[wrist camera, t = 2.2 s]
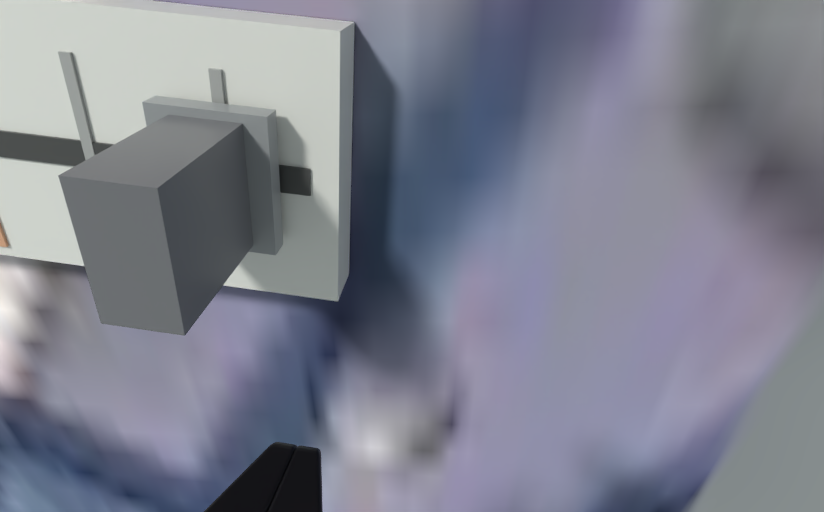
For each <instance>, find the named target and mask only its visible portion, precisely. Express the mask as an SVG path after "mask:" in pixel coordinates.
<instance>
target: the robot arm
mask: <svg viewBox="0 0 824 512" xmlns="http://www.w3.org/2000/svg"><path fill="white" fill-rule="evenodd" d="M204 512H322V476H321V451H320V449H318V448H313V447H306V446H298V447H297V446H296V445H294V444H287V443H281V442H275V443H273V444H271V445H270V446H269V447H268V448H267V449H266V450H265V451H264V452H263V453H262V454H261V455H260V456H259V457H258V458H257V459H256V460H255V461H254V462H253V463H252V464H251V465H250V466H249V467H248V468H247V469H246V470H245V471H244V472H243V473H242V474H241V475H240V476H239V477H238V478H237V479H236V480H235V481H234V482H233V483H232V484H231V485H230V486H229V487H228V488H227V489H226V490H225V491H224V492H223V493H222V494H221V495H220V496H219V497H218V498H217V499H216V500H215V501H214V502H213V503H212V504H211V505H210V506H209V507H208V508H207V509H206V510H205V511H204Z"/></svg>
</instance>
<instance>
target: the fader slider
mask: <svg viewBox="0 0 824 512" xmlns="http://www.w3.org/2000/svg"><path fill="white" fill-rule="evenodd" d="M142 104H143V110H144V115H145V120H146V126H147V127H145V128H143V129H141V130H140V131H138V132H136V133H134V134H132V135H130V136H129V137H127V138H125V139H123V140H121V141H120V142H118V143H116V144H114V145H112V146H111V147H109V148H107V149H105V150H103V151H102V152H100V153H98V154H96V155H94V156H93V157H91V158H89V159H87V160H85V161H83V162H82V163H80V164H78V165H76V166H74V167H73V168H71V169H69V170H67V171H65V172H64V173H62V174H60V175H58V177H59V180H60V183H61V187H62V190H63V194H64V197H65V201H66V204H67V208H68V211H69V214H70V218H71V221H72V225H73V228H74V232H75V235H76V239H77V242H78V246H79V249H80V252H81V256H82V259H83V263H84V266H85V270H86V273H87V277H88V280H89V283H90V287H91V290H92V294H93V297H94V301H95V304H96V308H97V311H98V314H99V318H100V321H101V323H102V324H109V325H116V326H122V327H129V328H136V329H143V330H150V331H157V332H164V333H171V334H177V335H184V336H185V335H186V333H187V332H188V331H189V329H190V328H191V327H192V325H193V324H194V323H195V321H196V320H197V319H198V318H199V316H200V315H201V314H202V312H203V311H204V310H205V308H206V307H207V306H208V304H209V303H210V302H211V300H212V299H213V298H214V296H215V295H216V294H217V293H218V291H219V290H220V289H221V287H222V286H223V285H224V283H225V282H226V281H227V279H228V278H229V277H230V275H231V274H232V273H233V271H234V270H235V269H236V267H237V266H238V265H239V264H240V262H241V261H242V260H243V258H244V257H245V256H246V254H247V253H248V252H254V253H262V254H269V255H276V254H277V253H278V251H279V250H280V248H281V247H282V245H283V231H282V212H281V194H280V176H279V157H278V139H277V120H276V110H274V109H266V108H257V107H249V106H240V105H232V104H223V103H215V102H206V101H198V100H189V99H181V98H172V97H164V96H154V97H152V98H150V99H147V100H145V101H143V102H142Z"/></svg>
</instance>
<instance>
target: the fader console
mask: <svg viewBox="0 0 824 512" xmlns="http://www.w3.org/2000/svg"><path fill="white" fill-rule="evenodd" d="M354 25H355V22H350V21H340V20H331V19H322V18H312V17H303V16H293V15H284V14H274V13H265V12H256V11H246V10H237V9H227V8H218V7H208V6H199V5H190V4H180V3H171V2H161V1H152V0H0V255H8V256H15V257H22V258H29V259H36V260H43V261H51V262H58V263H65V264H72V265H79V266H84V263H83V259H82V256H81V252H80V249H79V246H78V242H77V239H76V235H75V232H74V228H73V225H72V221H71V218H70V214H69V211H68V208H67V204H66V201H65V197H64V194H63V190H62V187H61V183H60V180H59V177H58V175H60V174H62V173H64V172H65V171H67V170H69V169H71V168H73V167H74V166H76V165H78V164H80V163H82V162H83V161H85V160H87V159H89V158H91V157H93V156H94V155H96V154H98V153H100V152H102V151H103V150H105V149H107V148H109V147H111V146H112V145H114V144H116V143H118V142H120V141H121V140H123V139H125V138H127V137H129V136H130V135H132V134H134V133H136V132H138V131H140V130H141V129H143V128H145V127H147V126H146V120H145V115H144V110H143V104H142V102H143V101H145V100H147V99H150V98H152V97H154V96H164V97H172V98H181V99H189V100H198V101H206V102H215V103H223V104H232V105H240V106H249V107H257V108H266V109H274V110H276V120H277V139H278V157H279V176H280V194H281V212H282V231H283V245H282V247H281V248H280V250H279V251H278V253H277V254H276V255H269V254H262V253H254V252H248V253H247V254H246V256H245V257H244V258H243V260H242V261H241V262H240V264H239V265H238V266H237V267H236V269H235V270H234V271H233V273H232V274H231V275H230V277H229V278H228V279H227V281H226V282H225V283H224V285H223V286H231V287H238V288H245V289H252V290H259V291H266V292H274V293H281V294H288V295H295V296H302V297H310V298H317V299H324V300H331V301H338V300H339V297H340V295H341V293H342V290H343V288H344V285H345V283H346V280H347V278H348V275H349V253H350V208H351V162H352V116H353V71H354Z"/></svg>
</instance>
